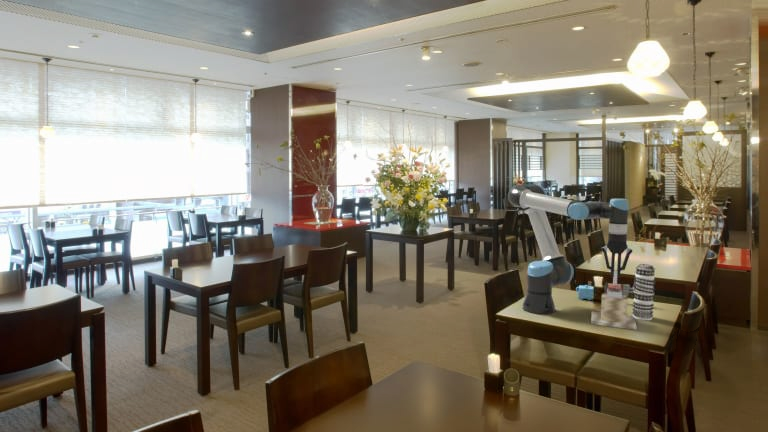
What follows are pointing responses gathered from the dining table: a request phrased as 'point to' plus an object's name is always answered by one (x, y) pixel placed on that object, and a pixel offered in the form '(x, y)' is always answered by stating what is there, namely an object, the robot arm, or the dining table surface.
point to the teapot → (585, 292)
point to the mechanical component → (627, 289)
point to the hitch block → (613, 312)
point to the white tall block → (614, 293)
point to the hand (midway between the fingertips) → (614, 284)
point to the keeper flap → (614, 286)
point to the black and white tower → (644, 292)
